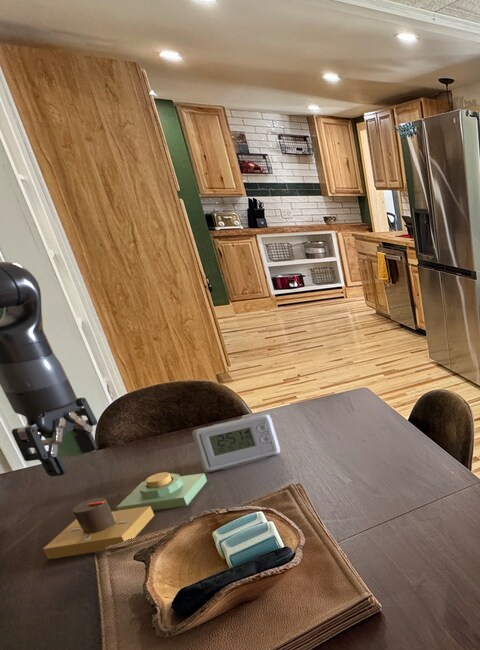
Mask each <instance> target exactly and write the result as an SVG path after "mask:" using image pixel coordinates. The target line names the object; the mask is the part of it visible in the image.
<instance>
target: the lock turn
mask: <svg viewBox="0 0 480 650" xmlns="http://www.w3.org/2000/svg"><path fill="white" fill-rule="evenodd" d="M72 513H73V515H74V517H75V520H76V519H77V521H78V523H79V525H80V527H81V528H82V530H83V532H84V533H95V532H99V531H102V530H104V529H106V528H108V527H110V526H112V525H113V524H114V523H115V521H116V520H115V518H114V516H113V514H112V510H111V508H110V506H109V503H108V502H107V499H106V498H104V497H98V498H97V497H96V498H92V499H89V500H86V501H83V502H80V503H78V504H77V505H75V506H74V507H72Z"/></svg>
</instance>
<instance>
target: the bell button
mask: <svg viewBox="0 0 480 650" xmlns="http://www.w3.org/2000/svg"><path fill="white" fill-rule="evenodd" d="M170 474H171V473H169V472H167V471H164V472H158V473H155V474H152V475H150V476H148V477H147V478H146V479H145V481H146V483H147V485H148V488H150V489H152V488H158V487H161V486H165V485H167V484H169V483H170V482H172V479H171V476H170Z"/></svg>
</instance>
